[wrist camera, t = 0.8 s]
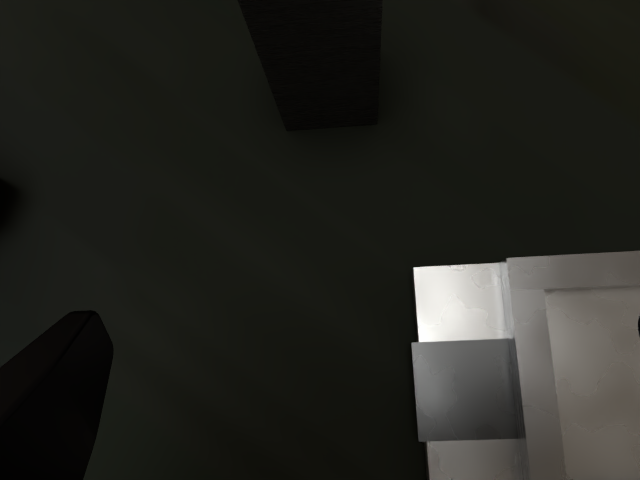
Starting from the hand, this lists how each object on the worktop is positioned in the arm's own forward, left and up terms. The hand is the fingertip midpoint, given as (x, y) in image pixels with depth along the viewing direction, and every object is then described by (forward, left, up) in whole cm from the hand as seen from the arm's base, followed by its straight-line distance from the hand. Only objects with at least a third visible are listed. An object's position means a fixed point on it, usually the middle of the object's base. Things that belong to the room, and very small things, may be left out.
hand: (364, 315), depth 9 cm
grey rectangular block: (+11, +1, -13) cm, 17 cm away
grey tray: (-2, -10, -13) cm, 17 cm away
